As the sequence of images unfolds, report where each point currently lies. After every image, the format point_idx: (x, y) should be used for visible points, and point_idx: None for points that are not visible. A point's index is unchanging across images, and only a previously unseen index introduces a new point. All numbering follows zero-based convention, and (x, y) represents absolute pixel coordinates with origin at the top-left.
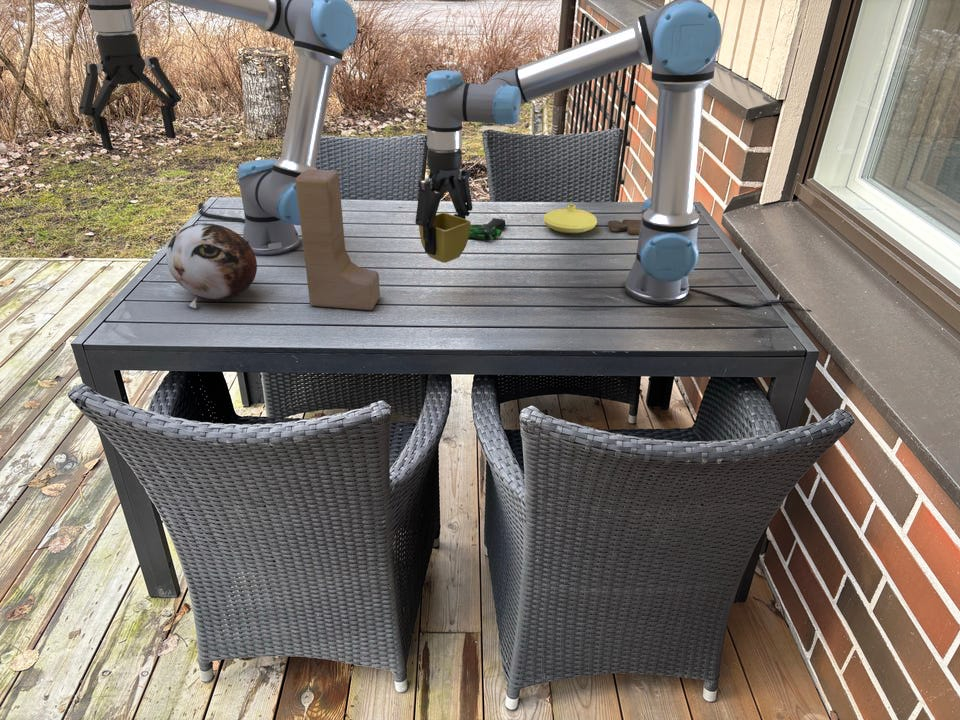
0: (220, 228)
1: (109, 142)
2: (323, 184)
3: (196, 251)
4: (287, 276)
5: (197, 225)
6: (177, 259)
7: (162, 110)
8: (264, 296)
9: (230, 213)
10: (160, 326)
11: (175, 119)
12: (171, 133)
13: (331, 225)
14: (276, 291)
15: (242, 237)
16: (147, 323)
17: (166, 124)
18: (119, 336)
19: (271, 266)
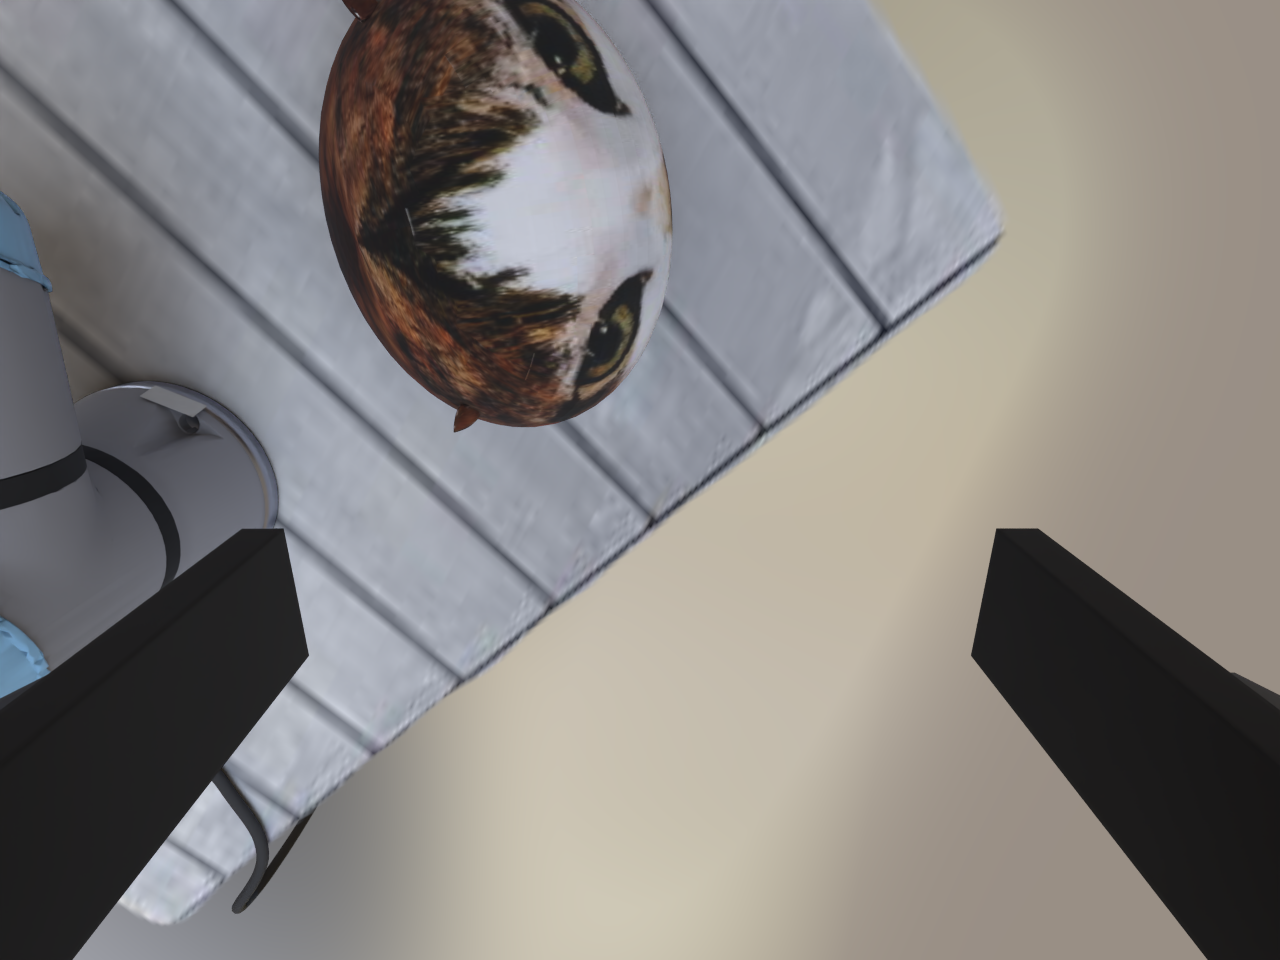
0: (408, 144)
1: (1074, 569)
2: None
3: (604, 91)
4: (247, 181)
5: (490, 260)
6: (662, 202)
7: (68, 898)
8: None
9: None
10: (793, 149)
11: (18, 690)
12: (249, 561)
13: None
14: None
15: (328, 122)
16: (808, 207)
17: (208, 700)
18: (917, 185)
19: (257, 313)
